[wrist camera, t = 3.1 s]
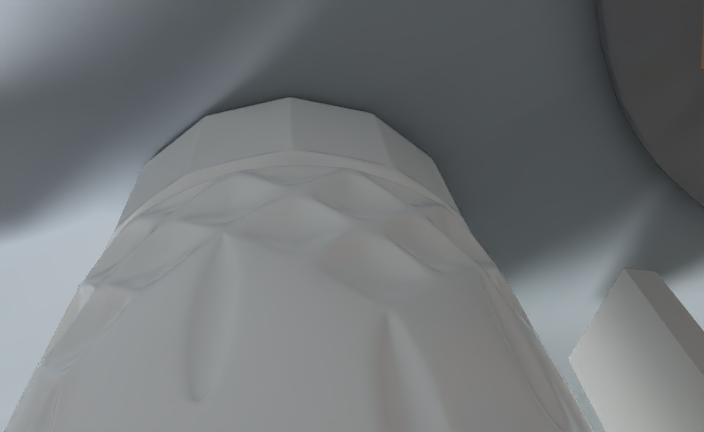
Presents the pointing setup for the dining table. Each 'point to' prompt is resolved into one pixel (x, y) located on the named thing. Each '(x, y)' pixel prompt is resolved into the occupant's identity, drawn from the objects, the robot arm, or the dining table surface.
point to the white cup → (294, 296)
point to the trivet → (660, 80)
